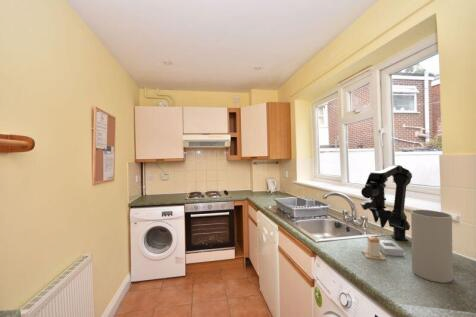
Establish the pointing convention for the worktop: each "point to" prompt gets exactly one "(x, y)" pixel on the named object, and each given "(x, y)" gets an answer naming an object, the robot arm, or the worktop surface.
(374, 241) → the plug
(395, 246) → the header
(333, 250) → the worktop surface
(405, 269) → the worktop surface
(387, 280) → the worktop surface
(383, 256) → the mat
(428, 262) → the cylinder vase
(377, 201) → the robot arm
